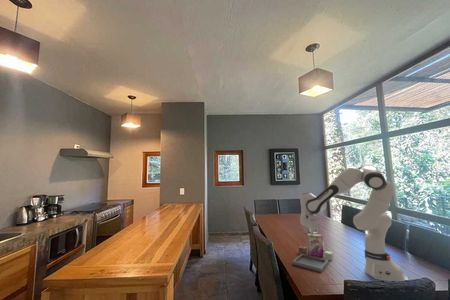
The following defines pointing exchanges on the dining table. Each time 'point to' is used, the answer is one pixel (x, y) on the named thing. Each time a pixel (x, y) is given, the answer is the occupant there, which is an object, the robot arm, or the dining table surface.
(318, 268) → the tray
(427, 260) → the dining table surface
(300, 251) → the walnut cube
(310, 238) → the candy bar box
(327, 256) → the sage cube
